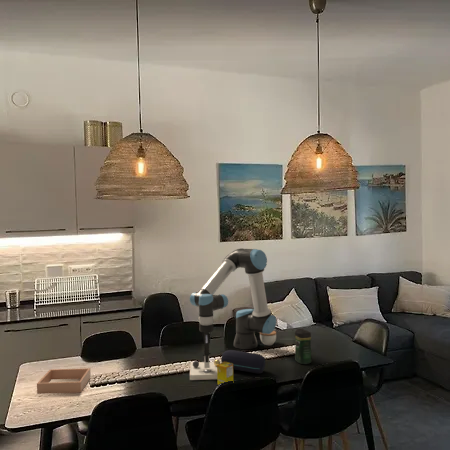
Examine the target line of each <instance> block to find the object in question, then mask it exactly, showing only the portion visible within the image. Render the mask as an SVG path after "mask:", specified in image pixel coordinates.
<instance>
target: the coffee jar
mask: <svg viewBox="0 0 450 450" xmlns="http://www.w3.org/2000/svg"><path fill="white" fill-rule="evenodd" d="M294 332H295V333H294V338H295V351H294V358H295V359H294V361H296V362H297V363H298V364H300V365H308V364H310V363H312V347H311V346H312V345H311V343H312V342H311V341H312V333H311V331H308V330H306V329H304V328H298V329H296V330H295V331H294Z"/></svg>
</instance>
